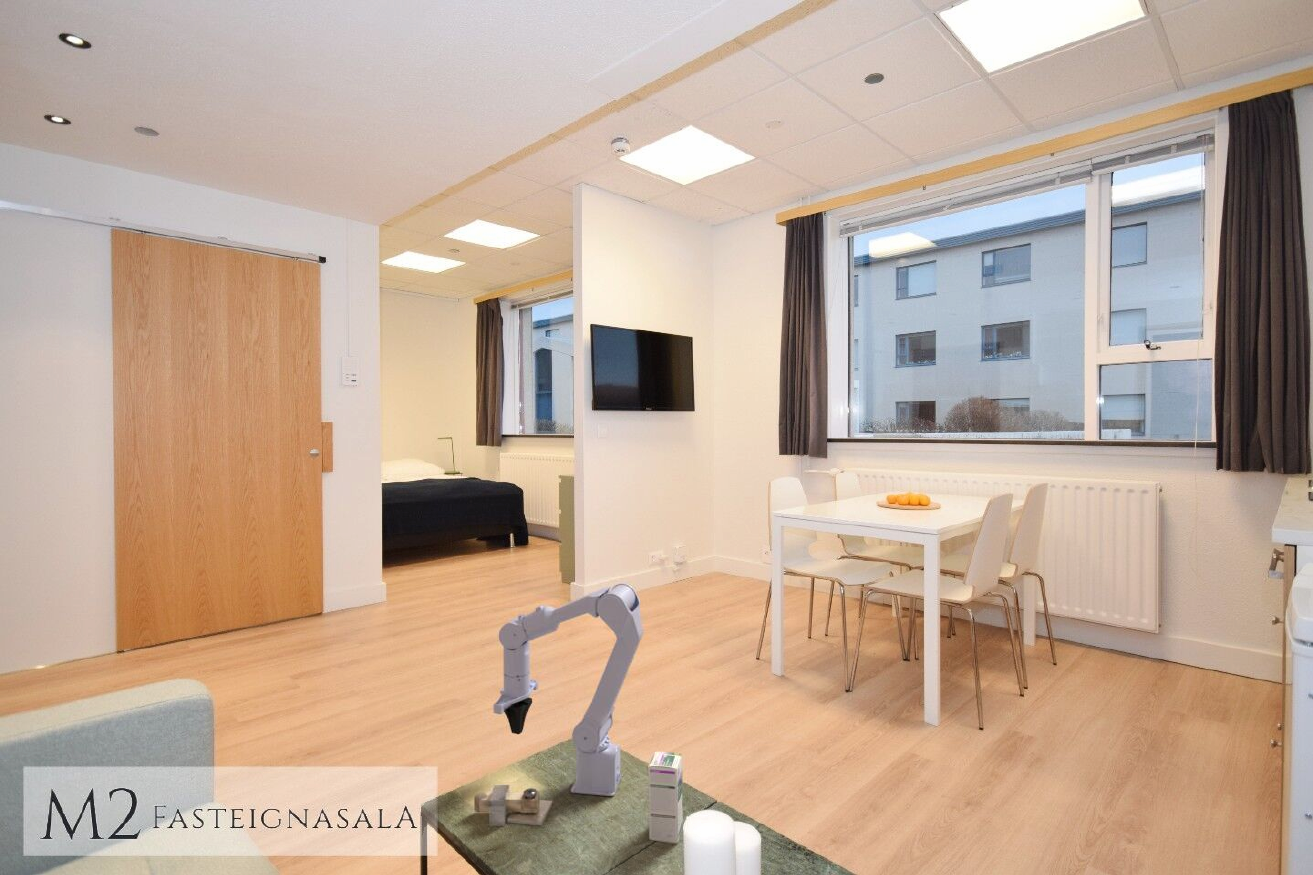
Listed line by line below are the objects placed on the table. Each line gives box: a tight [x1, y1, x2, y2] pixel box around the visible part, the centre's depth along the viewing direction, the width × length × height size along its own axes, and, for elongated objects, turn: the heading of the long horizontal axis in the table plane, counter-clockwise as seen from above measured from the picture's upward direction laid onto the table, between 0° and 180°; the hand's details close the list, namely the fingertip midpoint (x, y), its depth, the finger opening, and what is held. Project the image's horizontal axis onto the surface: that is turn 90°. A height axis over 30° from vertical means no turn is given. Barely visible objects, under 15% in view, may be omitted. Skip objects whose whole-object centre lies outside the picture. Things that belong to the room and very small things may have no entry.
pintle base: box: [506, 787, 553, 827], centre depth 131 cm, size 7×7×4 cm
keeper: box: [488, 784, 510, 827], centre depth 130 cm, size 3×5×5 cm, turn 3°
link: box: [473, 790, 541, 813], centre depth 131 cm, size 13×3×2 cm, turn 91°
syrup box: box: [647, 751, 684, 844], centre depth 125 cm, size 6×6×14 cm
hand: (516, 732), depth 146 cm, fingers closed
